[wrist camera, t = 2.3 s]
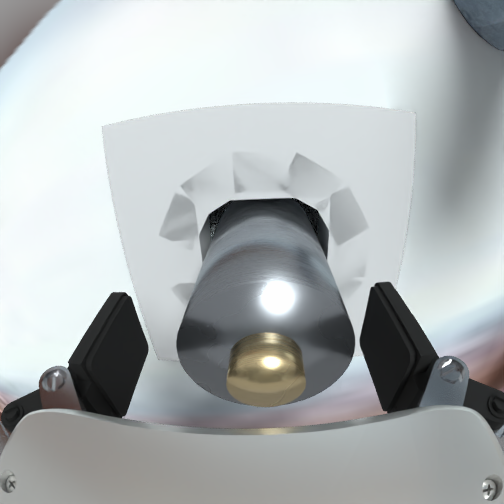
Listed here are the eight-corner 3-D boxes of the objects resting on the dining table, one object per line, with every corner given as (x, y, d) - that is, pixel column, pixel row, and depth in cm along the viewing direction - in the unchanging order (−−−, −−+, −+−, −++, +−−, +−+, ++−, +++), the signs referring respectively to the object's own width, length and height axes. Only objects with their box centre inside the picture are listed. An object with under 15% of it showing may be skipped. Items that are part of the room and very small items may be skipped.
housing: (392, 112, 14) (415, 112, 11) (367, 327, 21) (377, 353, 18) (126, 123, 15) (101, 126, 12) (168, 333, 22) (158, 359, 19)
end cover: (313, 189, 17) (383, 303, 6) (310, 277, 19) (345, 424, 9) (212, 193, 17) (143, 309, 7) (221, 279, 19) (190, 427, 9)
